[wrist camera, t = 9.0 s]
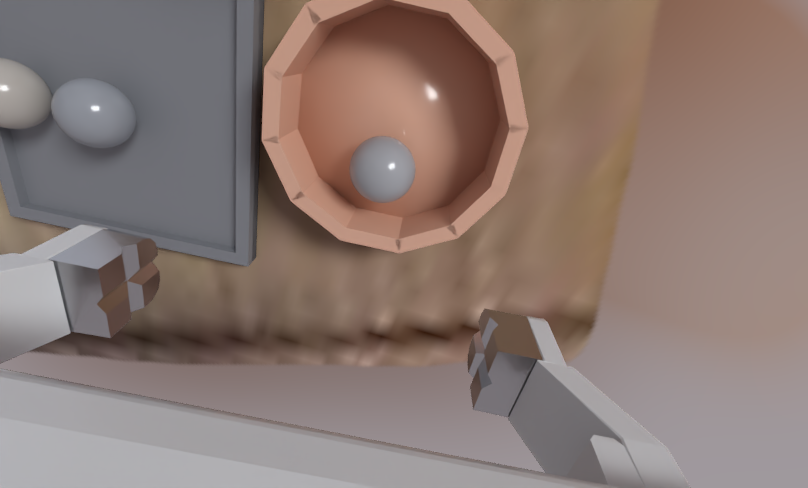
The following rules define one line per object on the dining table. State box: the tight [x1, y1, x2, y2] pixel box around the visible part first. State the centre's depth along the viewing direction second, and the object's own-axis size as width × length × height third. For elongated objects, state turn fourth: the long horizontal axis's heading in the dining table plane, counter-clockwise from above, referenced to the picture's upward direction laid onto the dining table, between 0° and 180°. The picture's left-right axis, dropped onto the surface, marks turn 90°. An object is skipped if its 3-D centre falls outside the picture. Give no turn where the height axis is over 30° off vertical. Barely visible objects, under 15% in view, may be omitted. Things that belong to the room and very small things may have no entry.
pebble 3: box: [349, 136, 416, 203], centre depth 20 cm, size 3×3×3 cm
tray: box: [0, 0, 264, 266], centre depth 21 cm, size 15×16×1 cm
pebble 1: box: [0, 58, 52, 129], centre depth 20 cm, size 3×3×3 cm
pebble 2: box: [51, 78, 137, 148], centre depth 20 cm, size 3×3×3 cm
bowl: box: [262, 0, 528, 253], centre depth 19 cm, size 12×12×4 cm
